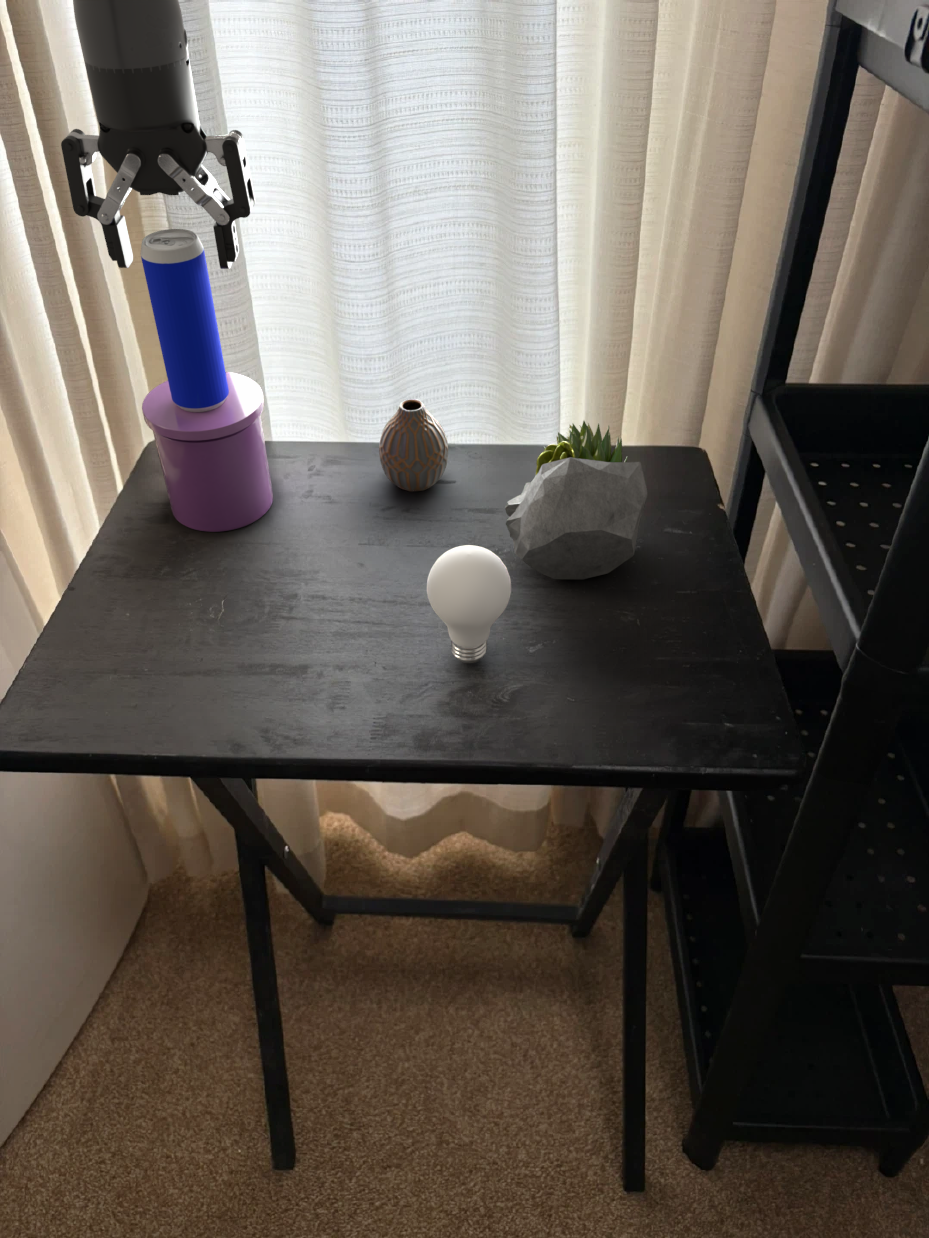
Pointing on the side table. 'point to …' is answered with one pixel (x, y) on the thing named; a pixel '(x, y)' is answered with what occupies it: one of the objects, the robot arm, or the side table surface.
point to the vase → (413, 447)
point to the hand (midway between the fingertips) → (177, 265)
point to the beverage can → (185, 318)
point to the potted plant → (578, 507)
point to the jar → (213, 457)
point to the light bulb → (468, 597)
